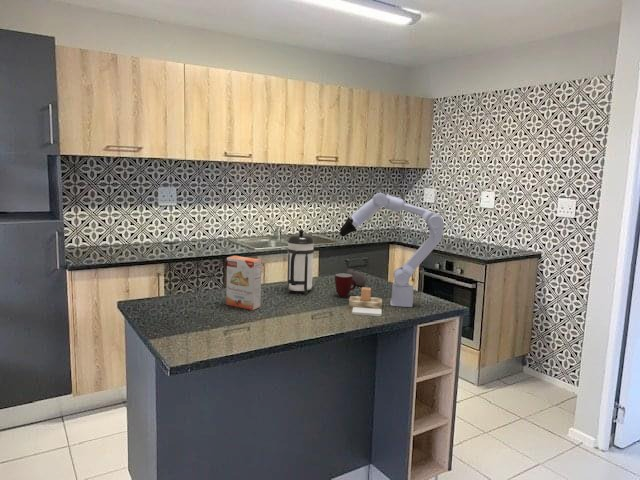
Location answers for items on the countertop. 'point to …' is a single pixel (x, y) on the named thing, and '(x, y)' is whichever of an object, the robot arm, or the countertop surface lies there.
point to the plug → (365, 294)
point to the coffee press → (300, 263)
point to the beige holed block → (365, 302)
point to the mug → (344, 284)
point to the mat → (367, 311)
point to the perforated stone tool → (356, 277)
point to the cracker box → (244, 282)
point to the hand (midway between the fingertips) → (340, 233)
